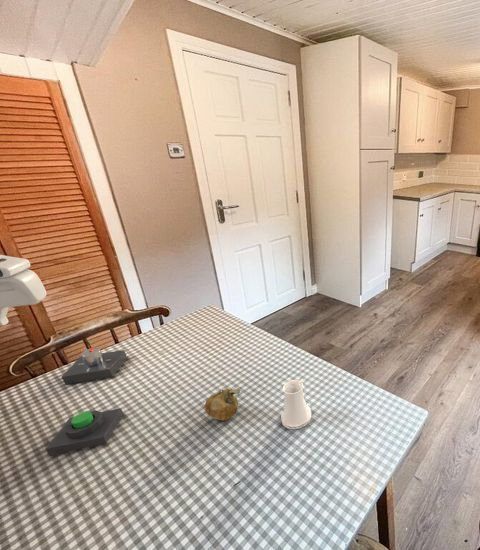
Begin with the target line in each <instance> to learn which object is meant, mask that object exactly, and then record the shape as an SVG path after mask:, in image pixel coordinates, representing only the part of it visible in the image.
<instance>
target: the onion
mask: <svg viewBox="0 0 480 550" xmlns="http://www.w3.org/2000/svg"><path fill="white" fill-rule="evenodd" d="M241 390H242V389H241V387H238V388H233V387H225V388H224V389H221V390H219V391H217V392H216V393H213V394H212V395H210V396H209V397H208V398H207V400H206V401H205V404H204V411H205V414H206V415H207V416H208V417H209V418H211V419H213V420H217V421H227V420H230V419H231V418H232V417H234V415H235V414H236V413H237V411H238V408H239V400H238V398H237V396H236V395H237V394H239V395H240V394H241ZM235 394H236V395H235Z"/></svg>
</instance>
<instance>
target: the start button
mask: <svg viewBox="0 0 480 550" xmlns="http://www.w3.org/2000/svg"><path fill="white" fill-rule="evenodd" d="M90 411H91V410H87V411H82V412H80V413H79V412H78V414H76V415H75V416H72V417H73V419H72V420H71V423H72V425H73V427H74V428H75V429H79V428H82V427H84V426H87V425H88V424H90V423H91V422H92V421H93V419H94V418H93V416H92V413H91V412H90Z"/></svg>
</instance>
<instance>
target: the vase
mask: <svg viewBox="0 0 480 550" xmlns="http://www.w3.org/2000/svg"><path fill="white" fill-rule="evenodd" d="M282 391H283V394H284V401H285V402H284V403H285V404H284V409H283V410H282V412H281V416H280V420H281V425H282V426H284V427H285V428H286V429H288V430H298V429H301V428H304V427H305V426H307V425H308V424H309V423H310V421H311V419H312V409H311V407H310V406H309V405H307V403H306V401H305V398H304V383H303V381H301V380H299V379H291V380H288V381H287V382H286V383H284V385H283V386H282Z"/></svg>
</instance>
